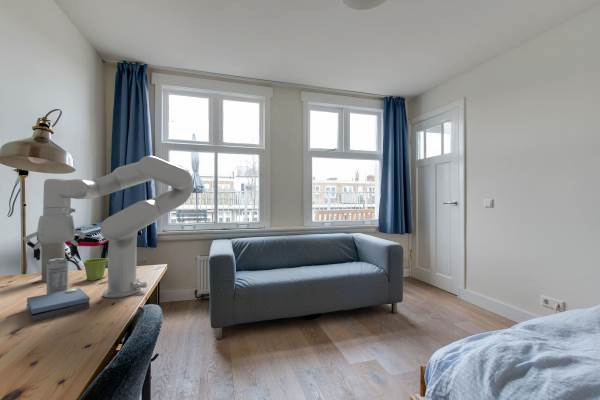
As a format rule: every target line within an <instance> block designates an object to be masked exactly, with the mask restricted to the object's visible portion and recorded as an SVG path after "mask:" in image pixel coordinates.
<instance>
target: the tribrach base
mask: <svg viewBox="0 0 600 400" xmlns="http://www.w3.org/2000/svg"><path fill="white" fill-rule="evenodd" d="M87 309H90V301H89V302H86V303H81V304H76V305H72V306H67V307H62V308H58V309H53V310H49V311H44V312H39V313H35V314H32V313H31V310H30V308H29V306H28V304H26V311H27V314H28V316H29V318H30V322H31V323H36V322H40V321H43V320H48V319H53V318H55V317H59V316H63V315H67V314H71V313H74V312H79V311H84V310H87Z"/></svg>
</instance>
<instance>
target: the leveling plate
mask: <svg viewBox="0 0 600 400" xmlns="http://www.w3.org/2000/svg"><path fill="white" fill-rule="evenodd" d="M90 300H91V299H90V296H89V295H88V294H87V293H86V292H84V291H83V290H82V289H81V288H68V290H66V291H62V292H56V293H51V294H47V293H45V294H40V295H35V296H29V297H26V303H27V304H28V306H29V308H30V310H31V313H32V314H35V313H39V312H44V311H49V310H53V309H58V308H62V307H67V306H72V305H76V304H81V303H86V302H89V303H90ZM27 304H26V305H27Z"/></svg>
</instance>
